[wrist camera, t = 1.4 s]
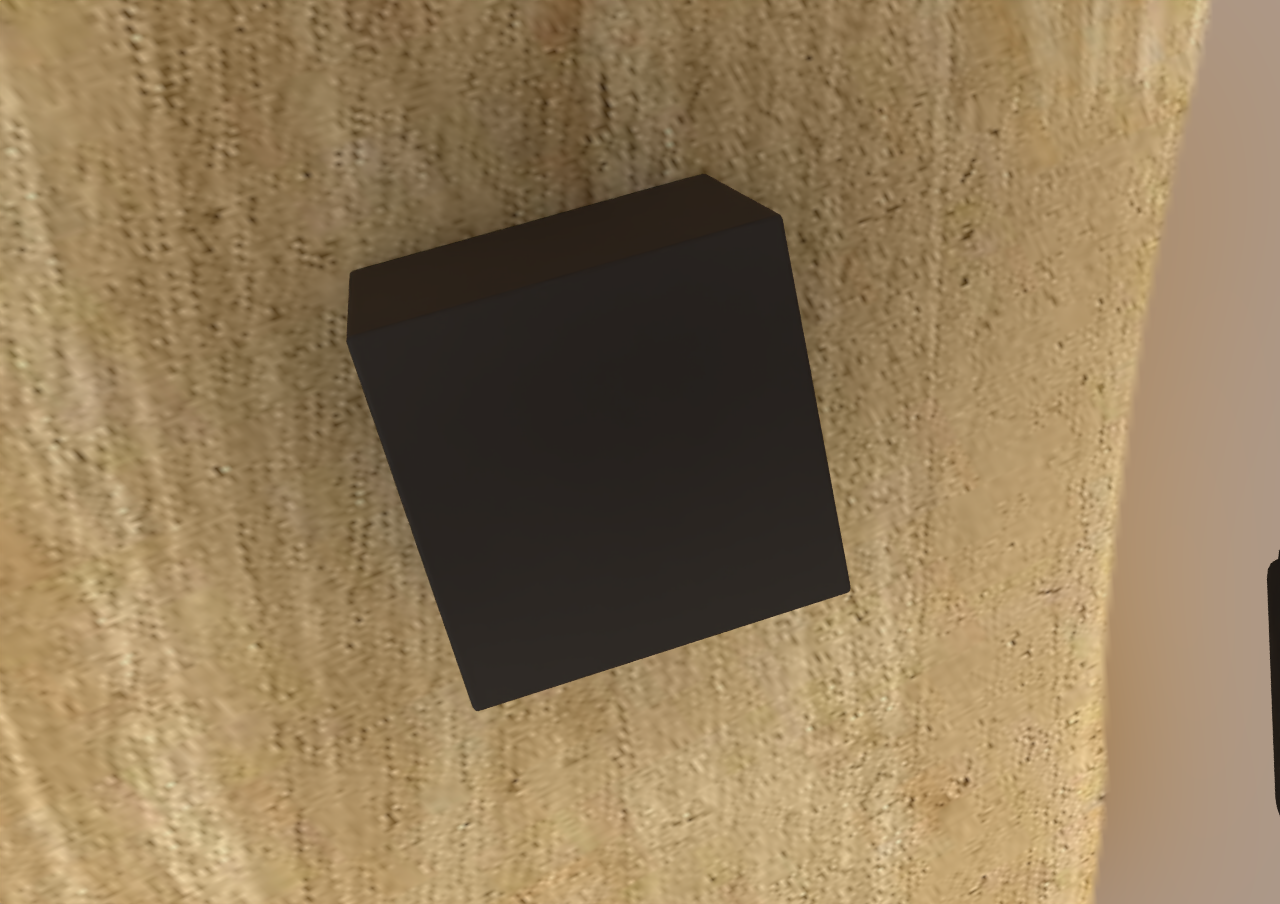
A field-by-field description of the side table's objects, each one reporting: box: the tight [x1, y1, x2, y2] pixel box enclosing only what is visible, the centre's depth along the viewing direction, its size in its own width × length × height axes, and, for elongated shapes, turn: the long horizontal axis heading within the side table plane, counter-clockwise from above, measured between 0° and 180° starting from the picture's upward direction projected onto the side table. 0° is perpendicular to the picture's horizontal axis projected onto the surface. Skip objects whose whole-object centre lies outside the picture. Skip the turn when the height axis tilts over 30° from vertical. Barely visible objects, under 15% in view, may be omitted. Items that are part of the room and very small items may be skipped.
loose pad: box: [346, 174, 850, 711], centre depth 19 cm, size 6×6×4 cm
